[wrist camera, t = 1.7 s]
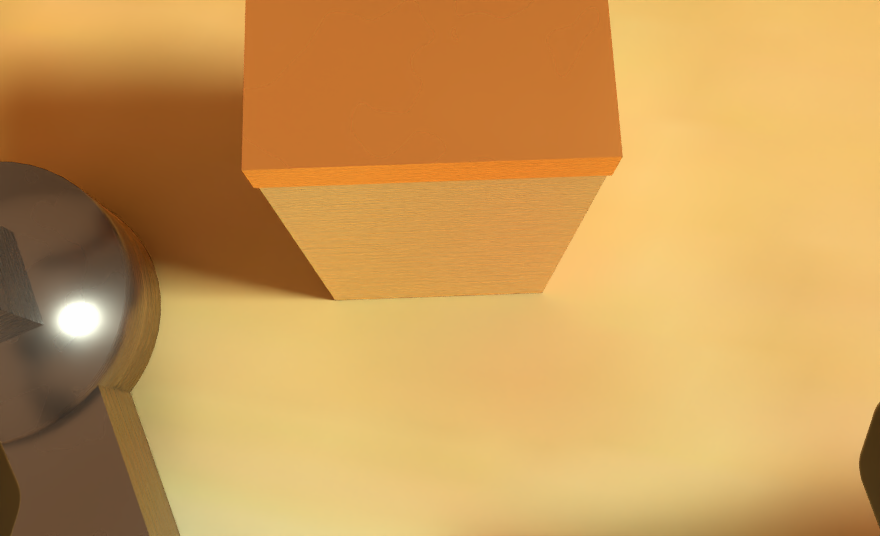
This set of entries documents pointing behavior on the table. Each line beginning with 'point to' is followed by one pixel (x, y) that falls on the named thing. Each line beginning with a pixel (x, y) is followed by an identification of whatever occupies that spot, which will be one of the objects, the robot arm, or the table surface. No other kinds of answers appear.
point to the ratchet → (75, 361)
